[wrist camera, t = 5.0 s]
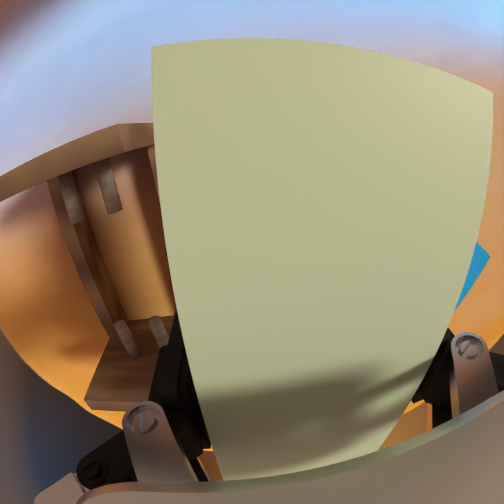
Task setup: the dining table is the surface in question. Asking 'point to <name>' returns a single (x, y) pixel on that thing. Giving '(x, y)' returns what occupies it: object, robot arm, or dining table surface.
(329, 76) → the pale green block
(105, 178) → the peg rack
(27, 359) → the dining table surface
